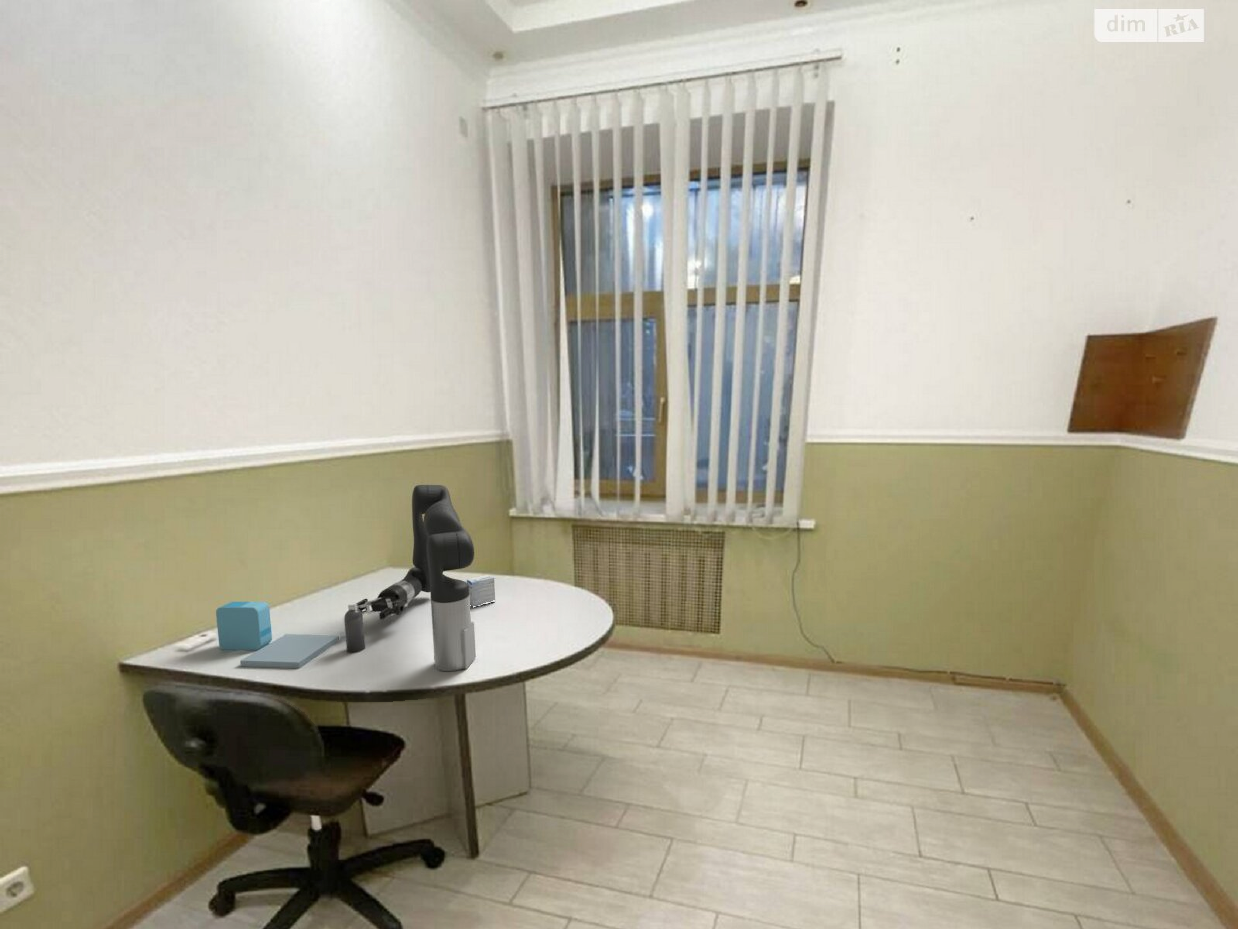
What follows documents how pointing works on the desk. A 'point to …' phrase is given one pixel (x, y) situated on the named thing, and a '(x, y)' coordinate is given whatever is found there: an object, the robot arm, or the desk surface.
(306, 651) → the plate
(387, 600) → the robot arm
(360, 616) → the dark grey bottle
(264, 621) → the data package
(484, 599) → the medicine box
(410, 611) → the desk surface
